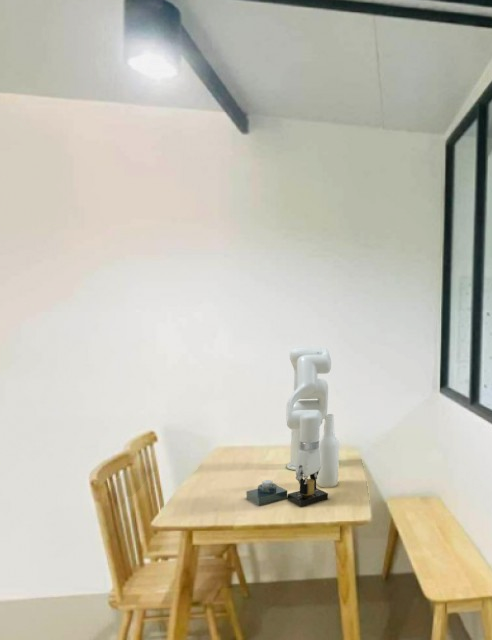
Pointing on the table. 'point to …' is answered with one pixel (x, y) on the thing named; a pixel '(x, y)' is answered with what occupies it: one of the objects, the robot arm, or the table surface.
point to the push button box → (266, 494)
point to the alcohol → (328, 455)
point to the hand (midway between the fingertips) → (308, 491)
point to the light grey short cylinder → (267, 484)
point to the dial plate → (307, 498)
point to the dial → (310, 487)
